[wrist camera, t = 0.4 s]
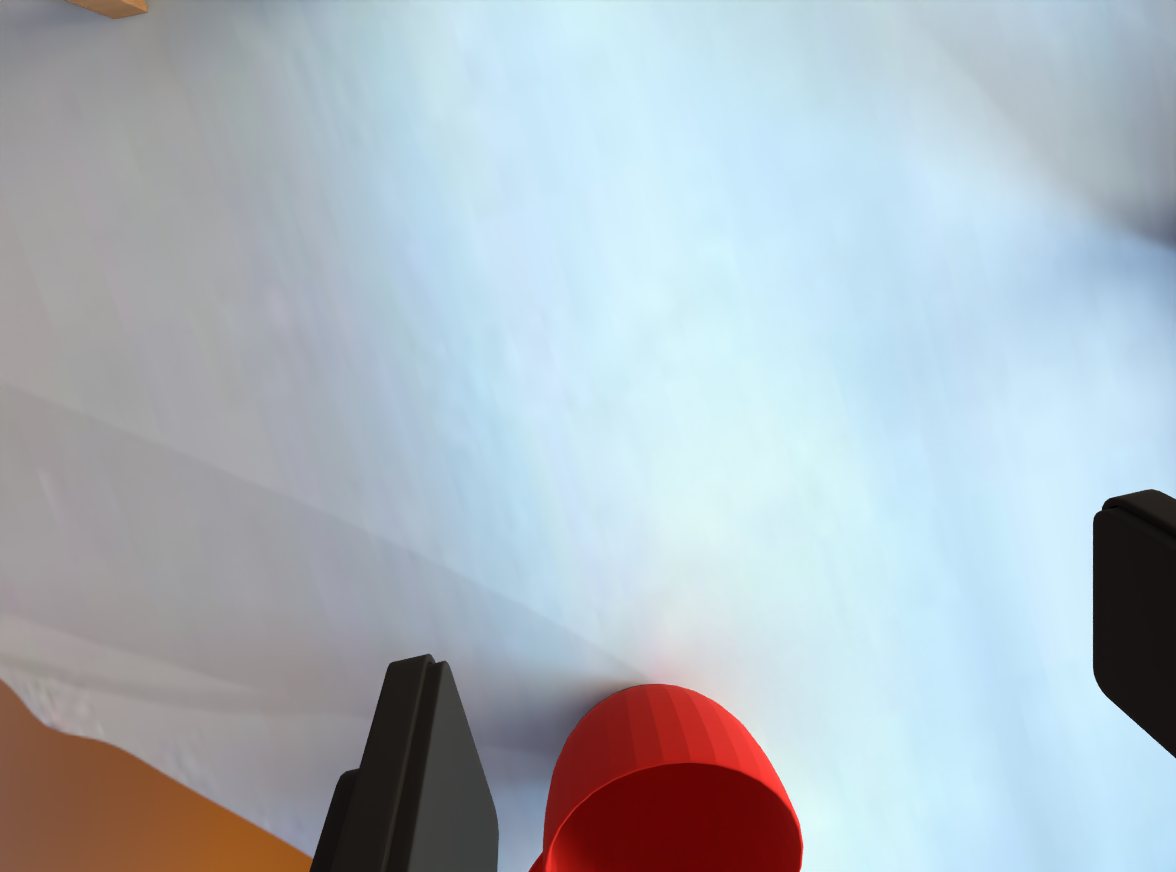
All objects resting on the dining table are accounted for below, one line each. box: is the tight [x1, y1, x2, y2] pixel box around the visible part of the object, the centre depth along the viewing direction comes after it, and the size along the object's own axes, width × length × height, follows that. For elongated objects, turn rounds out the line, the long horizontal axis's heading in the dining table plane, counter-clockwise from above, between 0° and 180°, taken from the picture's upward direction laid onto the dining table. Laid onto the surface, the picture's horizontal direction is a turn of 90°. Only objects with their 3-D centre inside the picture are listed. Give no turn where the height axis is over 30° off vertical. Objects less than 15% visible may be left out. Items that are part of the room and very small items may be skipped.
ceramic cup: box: [529, 684, 803, 872], centre depth 43 cm, size 13×17×10 cm
